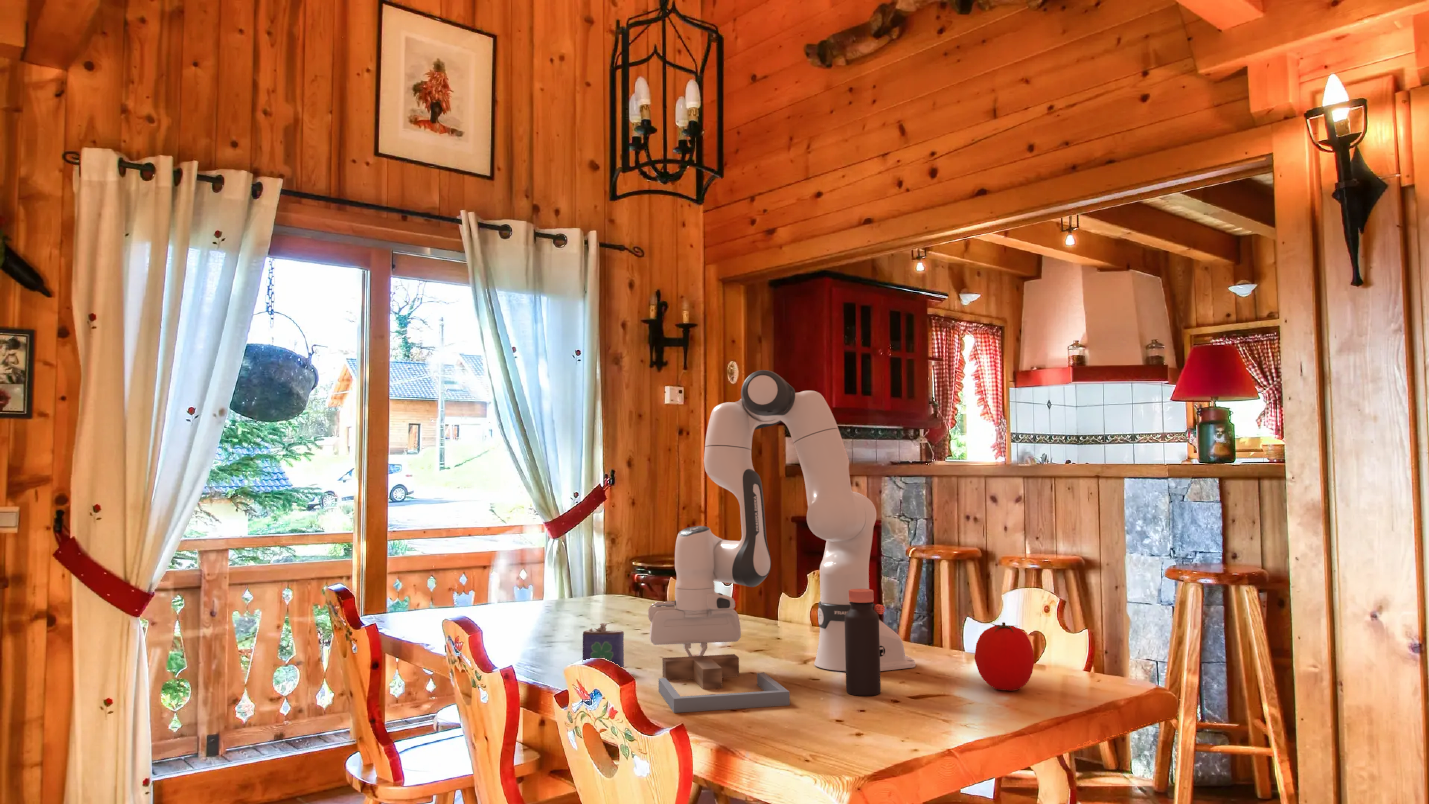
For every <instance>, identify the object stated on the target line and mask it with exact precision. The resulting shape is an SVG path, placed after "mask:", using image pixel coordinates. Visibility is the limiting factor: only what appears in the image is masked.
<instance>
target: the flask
mask: <svg viewBox="0 0 1429 804" xmlns="http://www.w3.org/2000/svg"><path fill="white" fill-rule="evenodd" d="M599 625H600V626H599V627H598V628H594V629H593V628H592V627H591V628H590V629H588V630H583V633H582V661H583V660H586V659H590V658H605V659H607V660H609V661H612V662H614V663H615V664H618V665H619V666H620V667H623V668H624V669H625V662H624V661H625V659H624V657H625V656H624V655H625V654H624V653H625V651H624V646H625V645H624V640H625V639H624V637H625V636H624V635H625V633H624V631H623V630H607V625H608V624H607V623H605V622H604V623H602V622H601V623H599Z"/></svg>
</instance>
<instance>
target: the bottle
mask: <svg viewBox="0 0 1429 804" xmlns="http://www.w3.org/2000/svg"><path fill="white" fill-rule="evenodd" d="M874 593H875V592H874V590H873V589H870V588H869V589H851V590H849V601H850V602H849V604H851V609H850V610H849V611H848V612H847V613H846V615H845V661H846V671H845V692H847V694H849V695H852V696H856V697H857V696H858V697H873V696H878V695H879V694H881V691H882V690H881V689H882V687H881V686H882V685H881V682H882V681H881V680H882V679H881V671H880V640H879V620H880V616H879V613H876V612H875V611H874V610H873V609H872V604H874Z"/></svg>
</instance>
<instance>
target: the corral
mask: <svg viewBox="0 0 1429 804" xmlns="http://www.w3.org/2000/svg"><path fill="white" fill-rule="evenodd" d="M669 681H670V680H667V679H666V678H663V677H660V678H658V692H659V694H660V695H661V697H662V698H663V700H664V701H665V702H666V704H667V705H668V706H669V708H670V709H671V710H672V713H675V714H676V713H691V712H692V713H693V712H703V711H704V712H707V711H708V712H709V711H710V712H711V711H721V710H736V709H737V710H739V709H753V708H768V707H781V706H782V707H783V706H790V703H791V702H790V701H791V700H790V699H791V698H790V690H788V689H787V688H785V687H784V686H783V685H782V684H780V682H778V681H776V680H774V679H773V678H772V677H771V676H770V675H768V674H767V673H766V672H764V671H763V672H757V673H756V685H757V686H758V687H759V688H760V689H761V690H762V691H750V692H749V691H746V692H732V693H730V692H729V693H715V694H713V693H712V694H701V695H700V694H699V695H697V694H695V695H684V696H681V695H680V694H679V693H678V691H677V690H676V689H675V688H674V686H673V685H672V684H671V682H669Z"/></svg>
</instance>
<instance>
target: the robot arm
mask: <svg viewBox="0 0 1429 804" xmlns="http://www.w3.org/2000/svg"><path fill="white" fill-rule="evenodd" d="M780 423H783V424H785V426H786V427H787V429H788V431H789V434H790V436H791V437H790V438H791V441H792V443H793V446H794V450H795V452H796V455H797V459H798V462H799V465H800V467H801V468H800V469H801V471H802V475H803V479H804V484H805V485H804V486H805V487H804V488H805V495H806V501H807V512H806V523H807V526H808V528H809V530H810V531H811V532H812V534H813V535H815V536H816V537H817V538H819V539H821V540H824V541H826V542H825V548H824V552H823V557H822V560H821V562H820V564H819V593H820V594H819V596H820V599H819V602H818V609H817V618H818V619H817V620H818V626H819V635H818V644H817V645H818V646H817V650H816V657H815V660H814V662H813V664H814V666H816V667H817V668H820V669H825V670H828V671H829V670H830V671H839V672H840V671H841V672H846V661H845V615H846V613H847V612H848V611H849V610H850V609H851V604H849V602H850V601H849V590H851V589H870V582H869V581H870V580H869V579H870V575H869V573H870V571H869V570H870V558H871V553H872V552H871V550H872V544H873V536H874V526H875V523H876V521H877V510H876V507H875V504H874V503H873V501H872V500H871V499H870V498H868V497H867V496H866V495H864V494H862V493H859V492H858V491H853V489H852V484H851V478H850V477H851V476H850V459H849V456H848V453H847V450H846V446H845V443H844V441H843V438H842V435H841V432H840V429H839V427H838V424H837V421H836V419H835V417H834V414H833V413H832V410H831V408H830V406H829V404H828V402H827V401H826V399H825V398H824V396H823V395H822V393H820V392H818V391H815V390H802V391H800V392H796V390H795V388H794V387H793V386H792V385H790V384H789V382H787V381H786V380H785V379H784V378H783V377H781V376H780V375H779V374H777V373H776V372H774V371H772V370H767V369H766V370H765V369H760V370H756V371H754V372H752V373H751V374H749V375H748V376H747V377H746V378H745V379H744V381H743V383H742V385H741V390H740V399H739V400H738V401H735V402H733V401H732V402H730V401H728V402H727V401H726V402H723V403H720V404H717V405H716V406H714V407H713V409H712V410H711V413H710V416H709V419H708V424H707V429H706V434H705V440H704V441H705V443H704V454H703V466H704V471H705V472H706V475H707V476H708V478H709V479H710V480H711V481H712V482H714V483H715V484H716V485H717V486H719V487H720V488H723V489H725V490H726V491H728V492H730V493H732V494H733V495H734V496H735V498H736V499H737V501H738V504H739V512H740V525H741V529H740V531H741V539H740V540H728V539H723V538H721V537H719V536H716V535H715V534H714V533H713V532H712V530H711V528H710V527H708V526H705V525H696V526H690V527H689V526H688V527H686V528H682V529H681V530H680V531H679V532H678V534H677V537H676V541H675V548H674V569H675V573H676V580H675V585H674V586H675V587H674V600H668V601H656V602H654V603H652V604H651V605H649V607H648V610H647V611H648V620H649V621H650V628H649V640H650V643H652V644H653V645H654V646H664V645H683V649H684V650H685V652H686V654H687V655H688V656H687V657H689V656H705V653H706V651H707V649H708V644H711V643H731V642H732V643H734V642H735V643H737V642H739V640H740V639H741V637H742V630H741V622H740V617H739V614H738V612H737V611H736V610H735V607H736V602H735V599H734V598H733V597H731V596H729V595H726V594H723V593H720V592H716V591H715V583H714V582H716V583H717V582H718V583H720V582H721V583H726V584H735V585H740V586H744V587H749V588H755V587H757V586H759V585H760V584H762V582H764V581H765V579H766V578H767V577H768V575H769V574H770V572H771V568H772V559H771V554H770V549H769V545H768V540H767V539H768V538H767V526H766V514H765V513H766V512H765V500H764V492H763V491H764V490H763V483H762V479H761V477H760V475H759V474H758V473H757V472H756V471H755V468H754V466H753V465H754V463H753V460H752V445H753V435H754V432H755V430H760V429H763V428H767V427H772V426H775V425H777V424H780ZM872 609H873V610H874V611H875V612H876V613H877V614H878V615H883V614H884V612H885V611H886V607H885V606H884V605H883V604H879V603H877V604H876V603H873V604H872ZM879 640H880V672H883V671H891V670H892V671H894V670H901V669H911V668H912V669H913V668H915V667H916V661H915V660H914V659H913V658H912V657H909V656H907V655H906V652H905V647H904V646H905V645H904V643H903V640H902V638H901V636H900V635H899V634H898V633H897V632H895V631H894V630H893V629H892V628H891V627H889V626H888V625H886V623H884V622H883V621H882V620H881V619H879ZM692 644H699V647H700V650H699V652H698V654H692V653H691V651H690V650H689V649H691V648H692Z"/></svg>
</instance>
